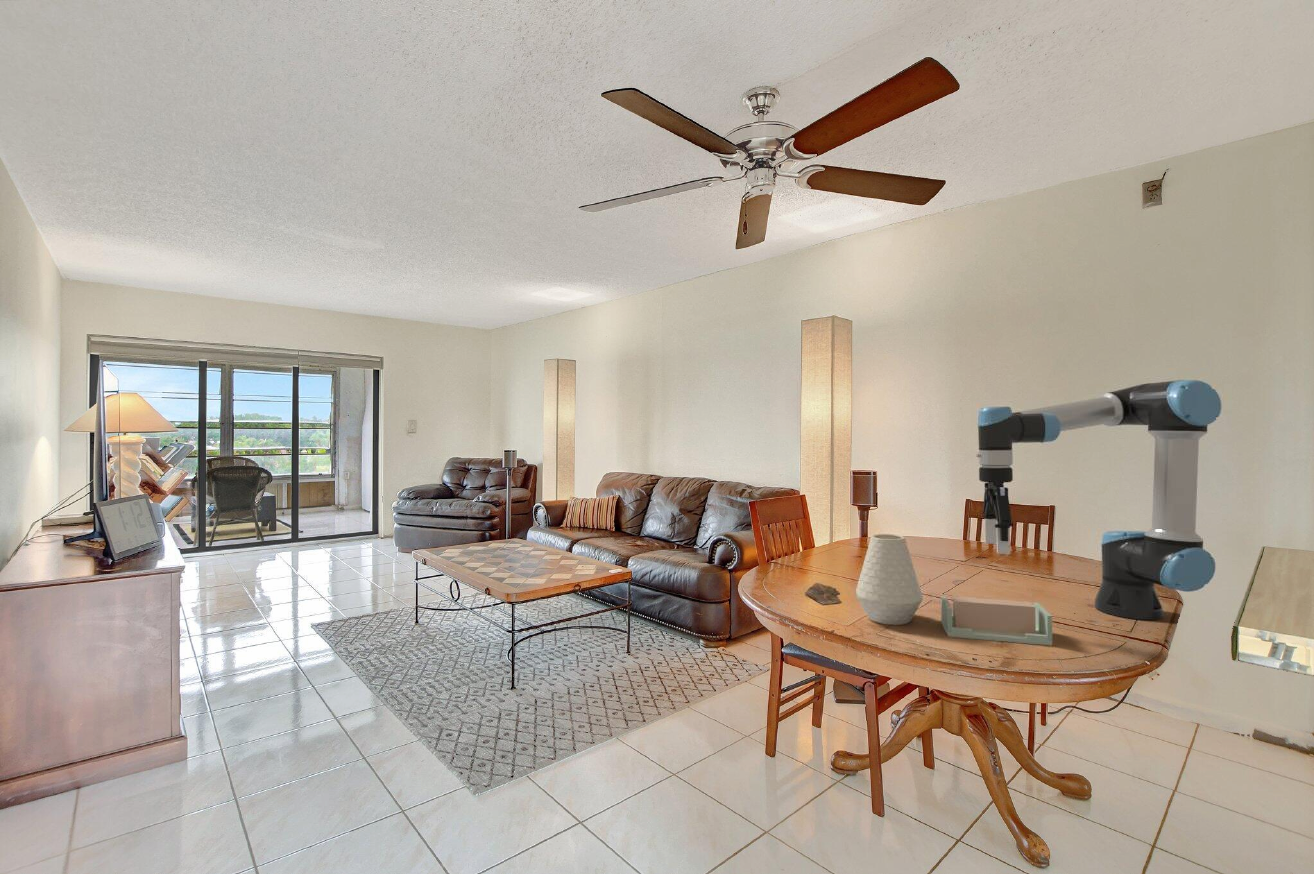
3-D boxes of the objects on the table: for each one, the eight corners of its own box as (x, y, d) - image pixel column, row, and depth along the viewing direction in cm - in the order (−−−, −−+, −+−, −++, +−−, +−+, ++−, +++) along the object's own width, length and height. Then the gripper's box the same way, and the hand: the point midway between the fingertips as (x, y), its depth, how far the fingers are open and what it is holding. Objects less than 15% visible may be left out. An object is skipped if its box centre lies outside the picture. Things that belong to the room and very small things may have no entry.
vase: (876, 631, 155) (875, 544, 154) (844, 611, 172) (844, 532, 172) (936, 626, 157) (935, 541, 157) (899, 607, 175) (899, 530, 174)
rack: (1038, 630, 154) (1038, 602, 154) (1052, 645, 143) (1052, 616, 143) (941, 622, 161) (941, 596, 161) (947, 636, 150) (947, 608, 150)
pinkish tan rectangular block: (1030, 629, 151) (1030, 602, 151) (1035, 634, 147) (1035, 607, 147) (953, 622, 157) (952, 596, 157) (955, 628, 153) (955, 601, 153)
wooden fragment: (842, 607, 177) (842, 603, 177) (805, 605, 179) (805, 601, 179) (837, 585, 202) (836, 582, 202) (804, 583, 204) (803, 580, 204)
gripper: (969, 463, 165) (971, 538, 165) (990, 470, 141) (991, 558, 142) (1000, 463, 163) (1001, 539, 163) (1025, 470, 139) (1027, 559, 139)
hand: (996, 548), depth 152 cm, fingers open, 13 cm apart
